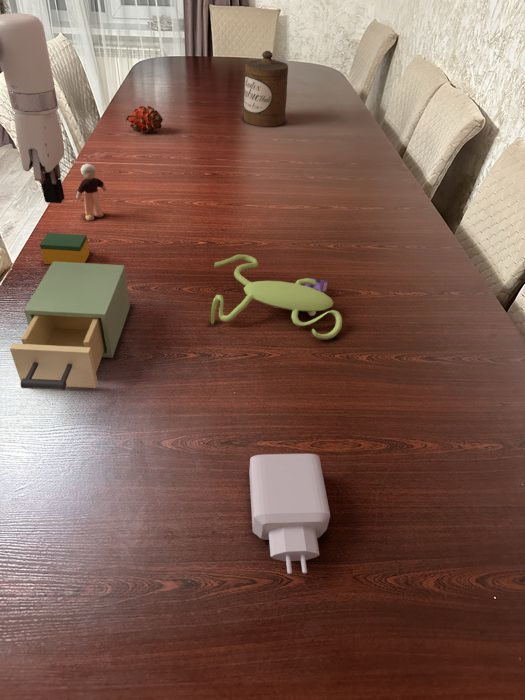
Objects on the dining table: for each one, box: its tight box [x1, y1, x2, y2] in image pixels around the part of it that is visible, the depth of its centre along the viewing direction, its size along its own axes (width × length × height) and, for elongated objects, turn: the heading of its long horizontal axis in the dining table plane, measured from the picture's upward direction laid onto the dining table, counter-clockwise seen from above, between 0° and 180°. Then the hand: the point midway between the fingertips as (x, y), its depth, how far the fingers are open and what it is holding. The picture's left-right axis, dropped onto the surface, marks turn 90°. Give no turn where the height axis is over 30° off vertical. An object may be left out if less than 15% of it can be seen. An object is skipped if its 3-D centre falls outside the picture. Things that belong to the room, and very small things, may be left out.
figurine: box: [210, 253, 343, 341], centre depth 100 cm, size 18×27×6 cm
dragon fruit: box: [125, 105, 164, 134], centre depth 169 cm, size 8×8×12 cm
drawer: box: [9, 315, 106, 391], centre depth 81 cm, size 18×11×7 cm, turn 0°
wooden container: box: [243, 50, 289, 127], centre depth 181 cm, size 15×15×22 cm
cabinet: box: [23, 261, 131, 359], centre depth 90 cm, size 15×13×9 cm
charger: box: [248, 453, 331, 575], centre depth 64 cm, size 5×9×15 cm
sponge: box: [39, 232, 90, 265], centre depth 108 cm, size 8×5×4 cm, turn 90°
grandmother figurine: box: [75, 162, 107, 221], centre depth 121 cm, size 8×4×13 cm, turn 147°
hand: (55, 200), depth 101 cm, fingers closed
